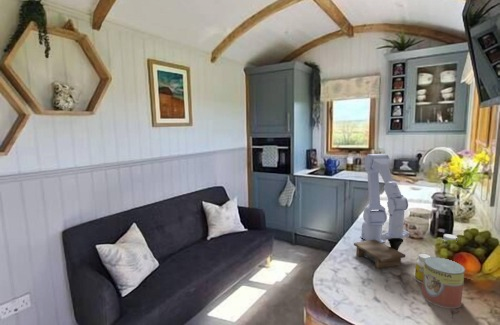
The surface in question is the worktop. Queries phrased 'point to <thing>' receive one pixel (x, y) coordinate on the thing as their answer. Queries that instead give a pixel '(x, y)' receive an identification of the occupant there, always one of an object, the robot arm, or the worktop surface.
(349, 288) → the worktop surface
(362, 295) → the worktop surface
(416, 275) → the supplement bottle
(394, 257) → the overhang
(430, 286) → the canned food
